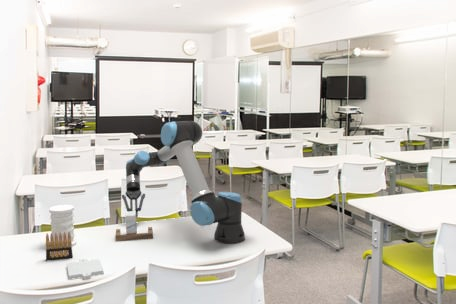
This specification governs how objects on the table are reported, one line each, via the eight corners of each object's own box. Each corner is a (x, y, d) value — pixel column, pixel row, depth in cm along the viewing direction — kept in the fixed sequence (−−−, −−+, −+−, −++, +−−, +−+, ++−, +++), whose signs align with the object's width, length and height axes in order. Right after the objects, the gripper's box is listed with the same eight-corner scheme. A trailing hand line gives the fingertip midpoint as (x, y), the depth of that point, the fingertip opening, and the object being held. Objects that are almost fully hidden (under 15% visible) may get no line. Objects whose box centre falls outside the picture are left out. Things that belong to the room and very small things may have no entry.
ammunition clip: (46, 261, 185) (44, 234, 183) (46, 259, 187) (45, 232, 185) (72, 258, 188) (71, 231, 186) (72, 256, 190) (71, 230, 188)
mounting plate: (66, 265, 181) (66, 261, 181) (98, 261, 186) (98, 256, 186) (69, 283, 165) (69, 278, 165) (104, 277, 170) (104, 272, 170)
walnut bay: (153, 238, 213) (153, 233, 213) (115, 241, 209) (115, 236, 209) (152, 231, 224) (152, 226, 223) (116, 233, 220) (116, 229, 220)
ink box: (136, 238, 213) (135, 215, 212) (125, 239, 212) (125, 215, 211) (137, 232, 222) (136, 210, 220) (127, 233, 221) (126, 211, 219)
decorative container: (45, 244, 204) (43, 207, 202) (69, 238, 213) (67, 203, 210) (57, 250, 196) (55, 212, 194) (80, 244, 205) (79, 207, 202)
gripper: (145, 187, 247) (146, 224, 233) (121, 188, 244) (121, 226, 230) (145, 180, 241) (146, 218, 227) (121, 181, 238) (121, 219, 224)
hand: (134, 222), depth 229 cm, fingers closed
